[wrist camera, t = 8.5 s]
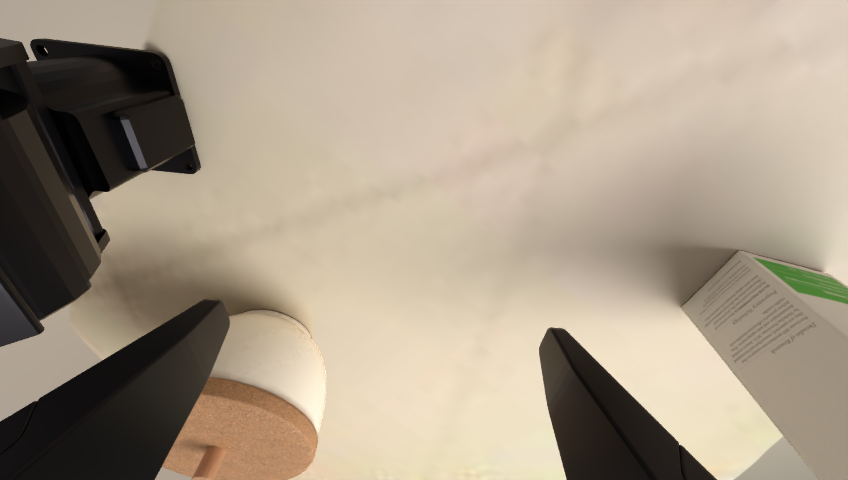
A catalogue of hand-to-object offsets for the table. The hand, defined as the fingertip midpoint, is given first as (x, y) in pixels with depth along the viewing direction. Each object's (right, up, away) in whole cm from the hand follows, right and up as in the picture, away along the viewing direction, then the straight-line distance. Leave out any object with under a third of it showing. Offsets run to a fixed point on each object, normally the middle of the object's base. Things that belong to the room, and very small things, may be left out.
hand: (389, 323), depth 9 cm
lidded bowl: (-13, -6, +21) cm, 25 cm away
